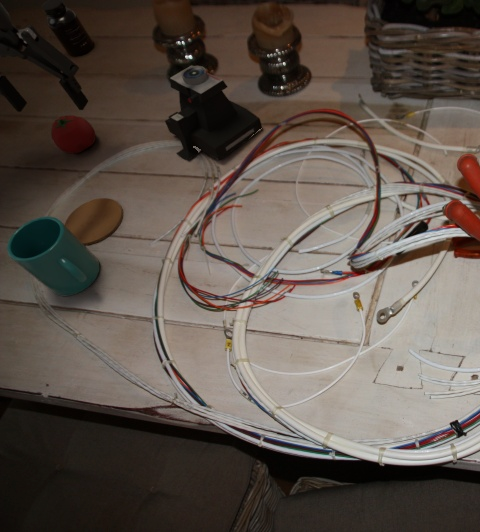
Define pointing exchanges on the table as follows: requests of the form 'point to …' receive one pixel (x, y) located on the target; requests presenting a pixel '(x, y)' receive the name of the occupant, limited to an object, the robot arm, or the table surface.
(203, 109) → the camera
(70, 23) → the supplement bottle
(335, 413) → the table surface
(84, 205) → the coaster
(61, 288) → the cup
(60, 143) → the tomato
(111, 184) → the table surface
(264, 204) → the table surface
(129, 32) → the table surface
